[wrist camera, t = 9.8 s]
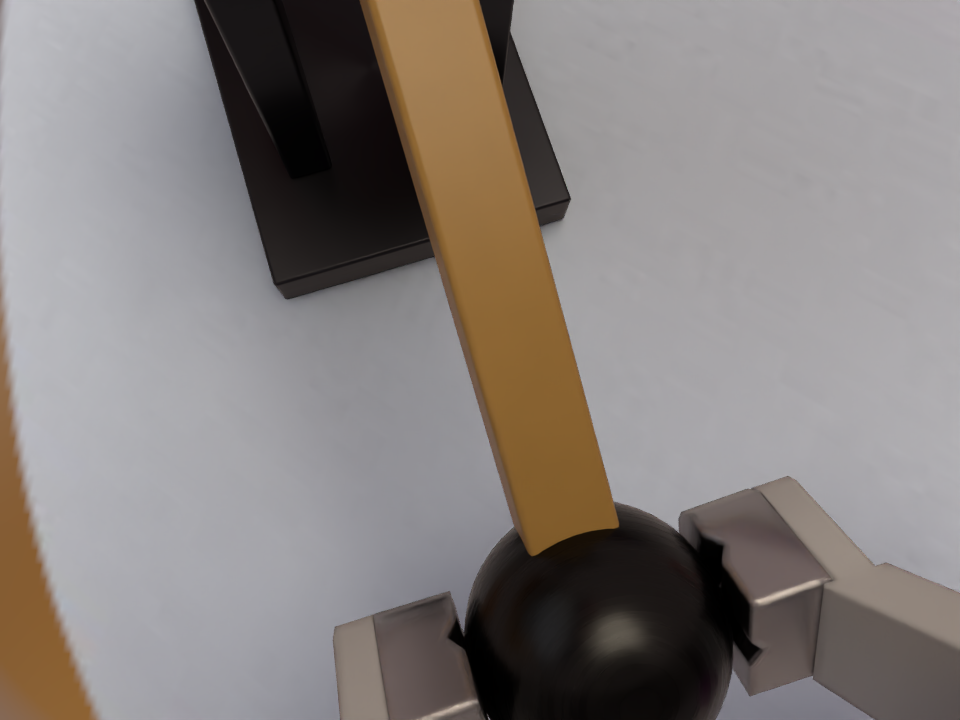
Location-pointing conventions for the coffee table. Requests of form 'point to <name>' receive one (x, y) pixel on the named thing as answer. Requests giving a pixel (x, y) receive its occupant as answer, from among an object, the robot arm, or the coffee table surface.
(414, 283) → the coffee table surface
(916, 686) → the robot arm
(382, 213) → the black lever stand
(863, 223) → the coffee table surface
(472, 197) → the lock lever
